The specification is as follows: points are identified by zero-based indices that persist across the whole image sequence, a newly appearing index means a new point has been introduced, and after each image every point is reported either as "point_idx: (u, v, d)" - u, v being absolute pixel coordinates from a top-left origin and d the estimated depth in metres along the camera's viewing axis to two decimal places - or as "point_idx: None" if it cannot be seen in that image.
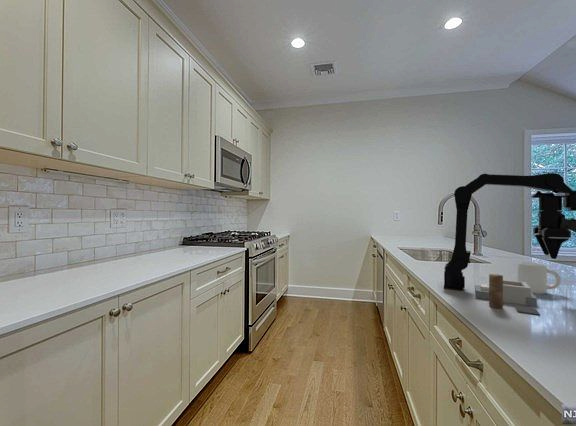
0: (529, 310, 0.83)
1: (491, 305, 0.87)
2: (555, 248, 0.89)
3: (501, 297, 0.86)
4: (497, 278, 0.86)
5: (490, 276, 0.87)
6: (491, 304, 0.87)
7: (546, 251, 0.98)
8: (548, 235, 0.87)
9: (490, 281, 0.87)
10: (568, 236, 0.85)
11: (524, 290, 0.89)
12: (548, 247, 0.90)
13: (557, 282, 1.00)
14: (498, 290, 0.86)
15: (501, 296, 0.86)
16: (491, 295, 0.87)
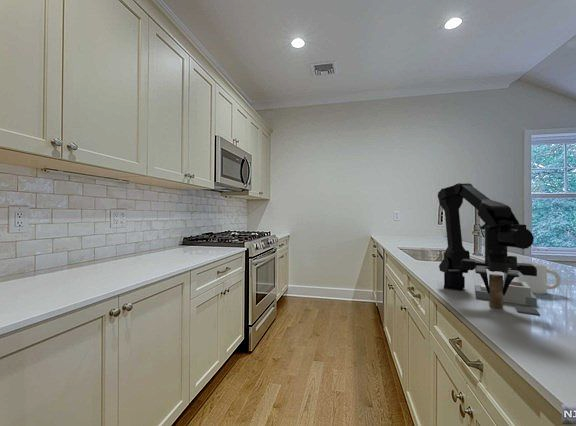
0: (529, 310, 0.83)
1: (491, 305, 0.87)
2: (484, 281, 0.89)
3: (501, 297, 0.86)
4: (497, 278, 0.86)
5: (490, 276, 0.87)
6: (491, 304, 0.87)
7: None
8: None
9: (490, 281, 0.87)
10: (461, 267, 0.90)
11: (524, 290, 0.89)
12: None
13: (557, 282, 1.00)
14: (498, 290, 0.86)
15: (501, 296, 0.86)
16: (491, 295, 0.87)
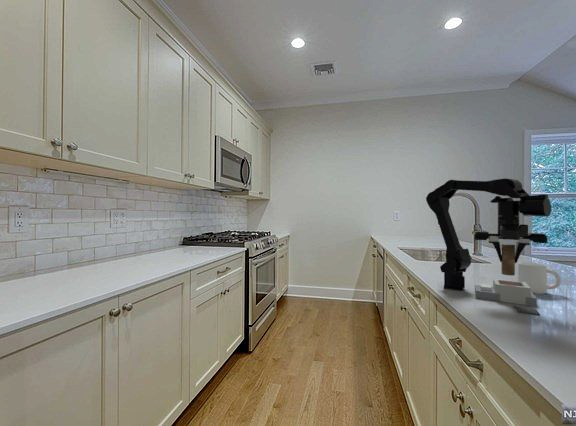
0: (529, 310, 0.83)
1: (503, 272, 0.93)
2: None
3: (513, 265, 0.92)
4: (509, 247, 0.92)
5: (502, 245, 0.93)
6: (503, 271, 0.93)
7: None
8: None
9: (502, 250, 0.93)
10: None
11: (524, 290, 0.89)
12: None
13: (557, 282, 1.00)
14: (510, 258, 0.92)
15: (513, 264, 0.92)
16: (503, 263, 0.93)
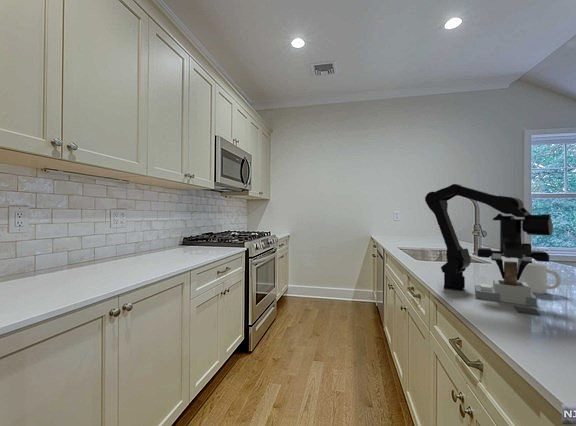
0: (529, 310, 0.83)
1: None
2: (499, 268, 0.96)
3: (515, 282, 0.93)
4: (512, 264, 0.93)
5: (505, 263, 0.95)
6: None
7: None
8: None
9: (505, 267, 0.95)
10: (477, 255, 0.98)
11: (524, 290, 0.89)
12: None
13: (557, 282, 1.00)
14: (513, 275, 0.93)
15: (516, 281, 0.93)
16: (506, 280, 0.94)
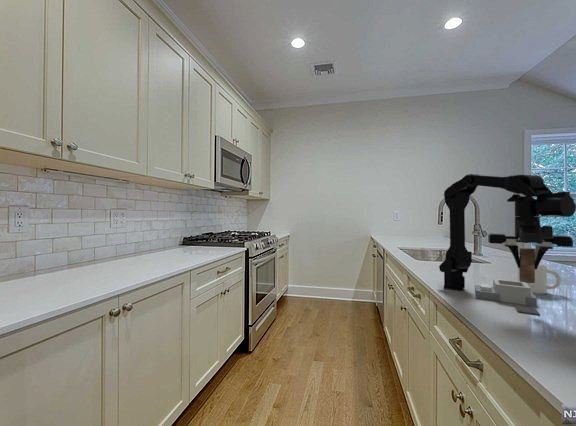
0: (529, 310, 0.83)
1: (522, 280, 0.83)
2: (514, 256, 0.85)
3: (533, 271, 0.82)
4: (529, 251, 0.82)
5: (521, 249, 0.83)
6: (522, 278, 0.83)
7: None
8: (488, 240, 0.90)
9: (521, 255, 0.83)
10: (489, 241, 0.86)
11: (524, 290, 0.89)
12: None
13: (557, 282, 1.00)
14: (530, 263, 0.82)
15: (533, 270, 0.82)
16: (522, 269, 0.83)
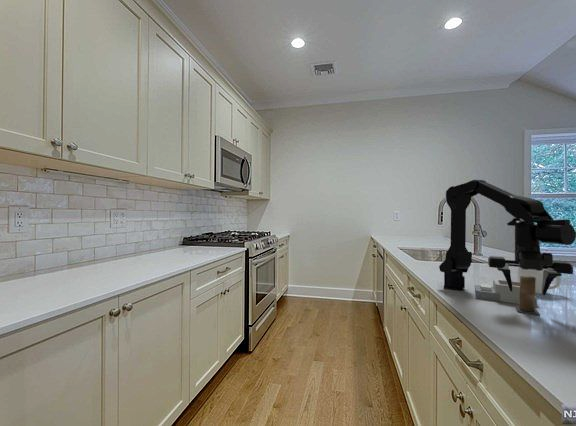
0: None
1: (522, 308, 0.83)
2: None
3: (533, 300, 0.81)
4: (530, 280, 0.81)
5: (521, 278, 0.83)
6: (521, 307, 0.83)
7: (542, 290, 0.81)
8: (488, 262, 0.90)
9: (521, 283, 0.83)
10: (489, 265, 0.86)
11: None
12: None
13: (557, 282, 1.00)
14: (530, 292, 0.81)
15: (534, 299, 0.81)
16: (522, 298, 0.83)
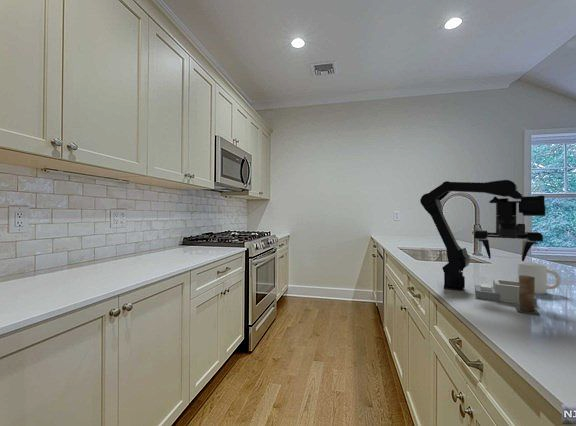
0: None
1: (522, 308, 0.83)
2: None
3: (533, 300, 0.82)
4: (529, 280, 0.82)
5: (521, 278, 0.83)
6: (521, 307, 0.83)
7: (522, 257, 0.96)
8: None
9: (521, 283, 0.83)
10: (474, 237, 1.01)
11: None
12: None
13: (557, 282, 1.00)
14: (530, 292, 0.82)
15: (533, 299, 0.82)
16: (522, 298, 0.83)
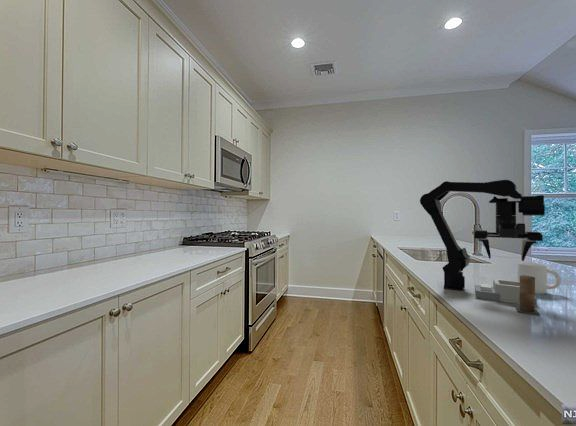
0: None
1: (522, 308, 0.83)
2: (485, 248, 1.01)
3: (533, 300, 0.82)
4: (529, 280, 0.82)
5: (521, 278, 0.83)
6: (521, 307, 0.83)
7: (521, 257, 0.96)
8: None
9: (521, 283, 0.83)
10: (474, 237, 1.01)
11: None
12: (485, 247, 1.03)
13: (557, 282, 1.00)
14: (530, 292, 0.82)
15: (533, 299, 0.82)
16: (522, 297, 0.83)
